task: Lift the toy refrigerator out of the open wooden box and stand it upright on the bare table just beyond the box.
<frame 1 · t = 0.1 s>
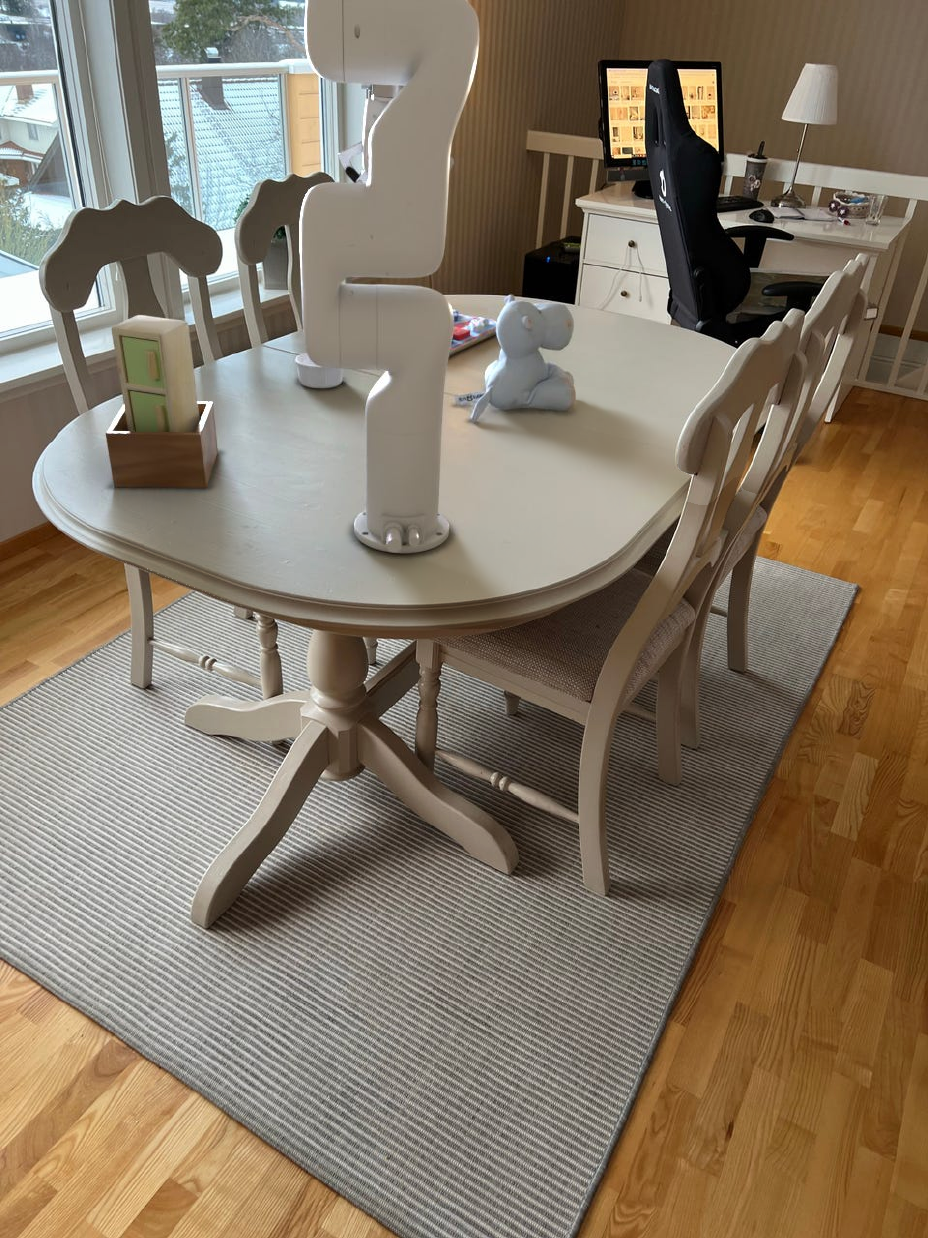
hand: (395, 215, 145), 31 cm above the table, tool pointing down, fingers open, 9 cm apart
ramekin: (320, 382, 172), on the table
toy refrigerator: (168, 470, 137), resting in open wooden box
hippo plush: (517, 406, 167), on the table
puzzle board: (425, 336, 199), on the table
open wooden box: (168, 468, 137), on the table
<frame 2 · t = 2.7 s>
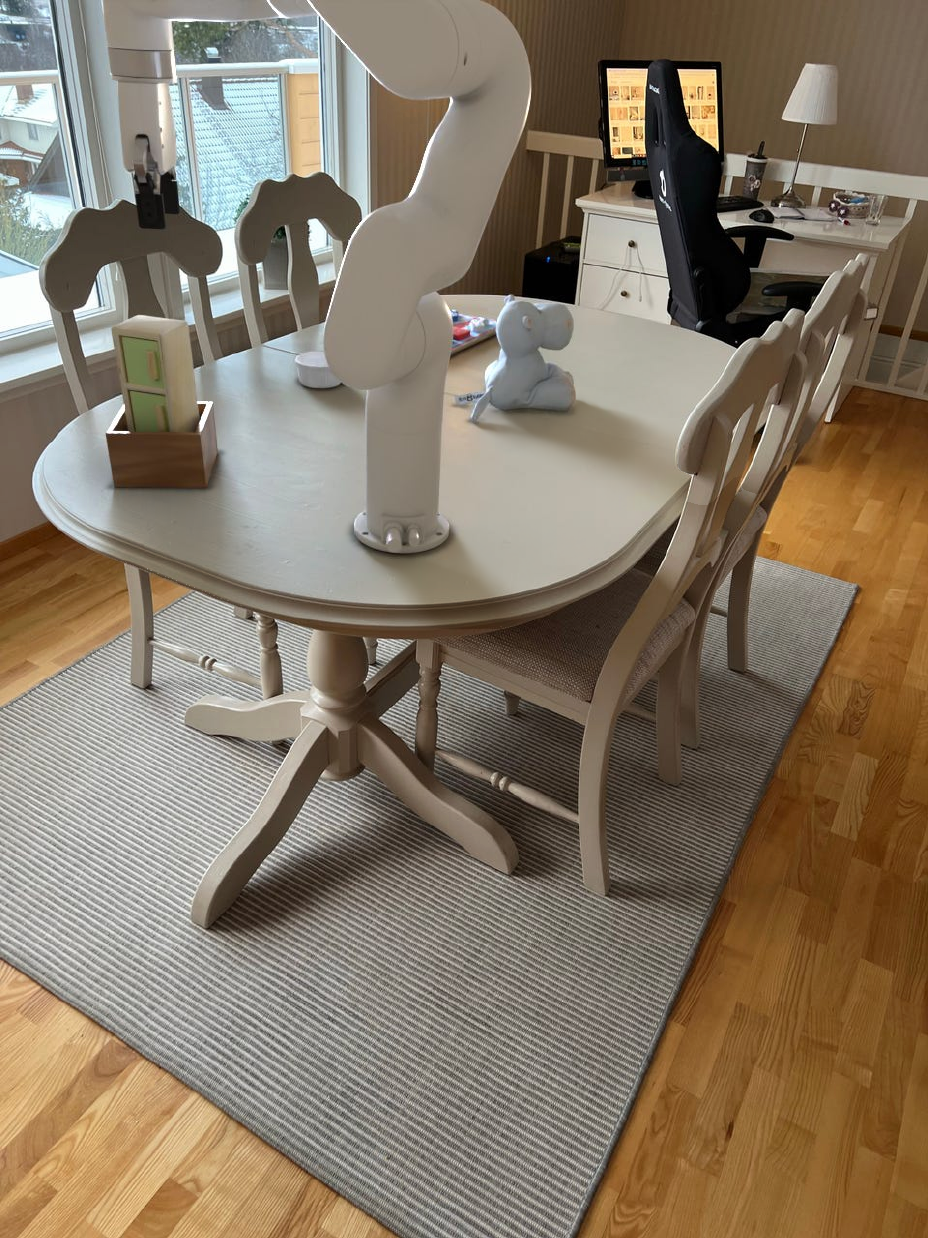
hand: (160, 220, 121), 34 cm above the table, tool pointing down, fingers open, 9 cm apart
nothing on the table moved.
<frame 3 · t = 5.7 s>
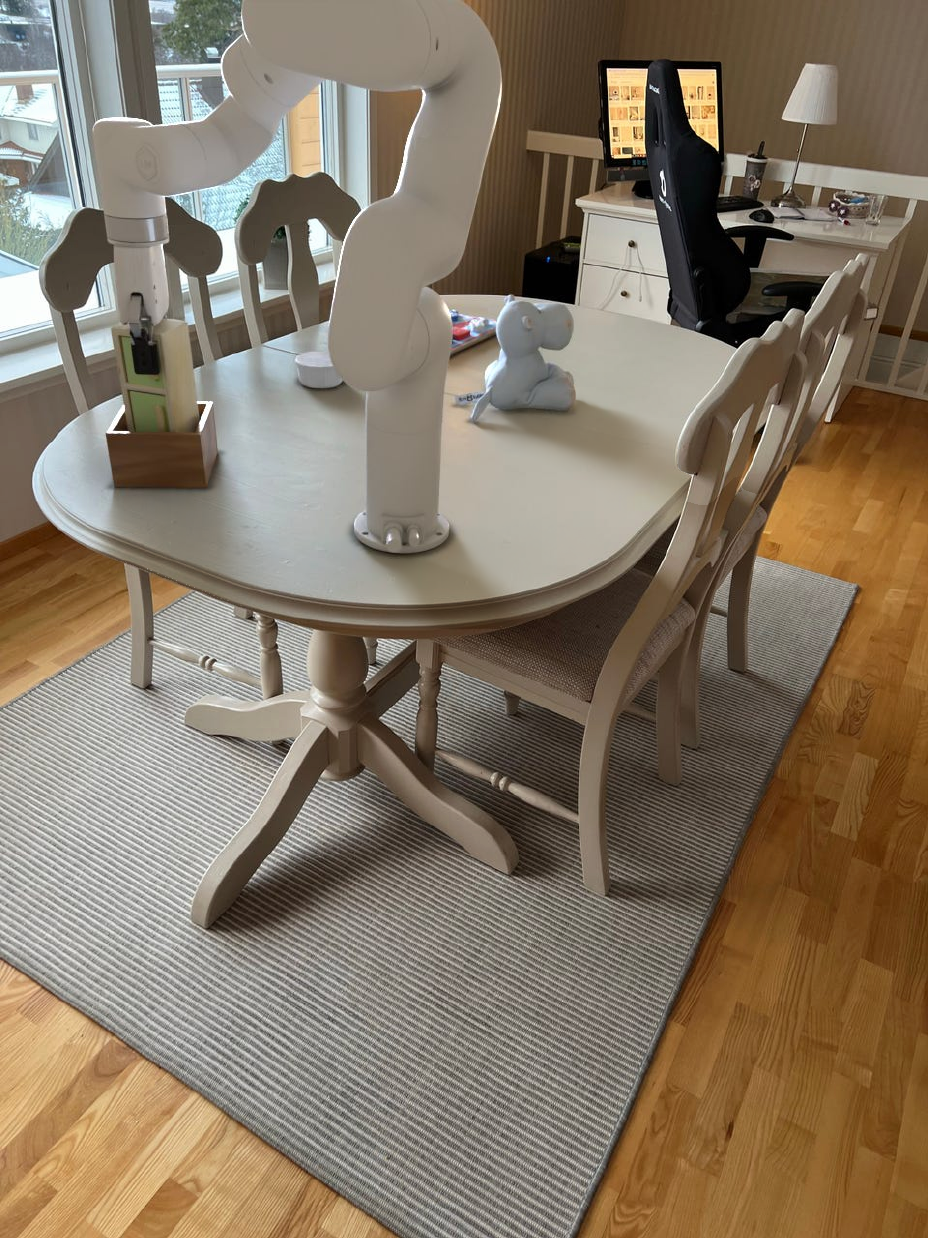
hand: (154, 362, 128), 16 cm above the table, tool pointing down, fingers closed on toy refrigerator, 8 cm apart
toy refrigerator: (168, 470, 137), resting in open wooden box, touching gripper
everything else where it was.
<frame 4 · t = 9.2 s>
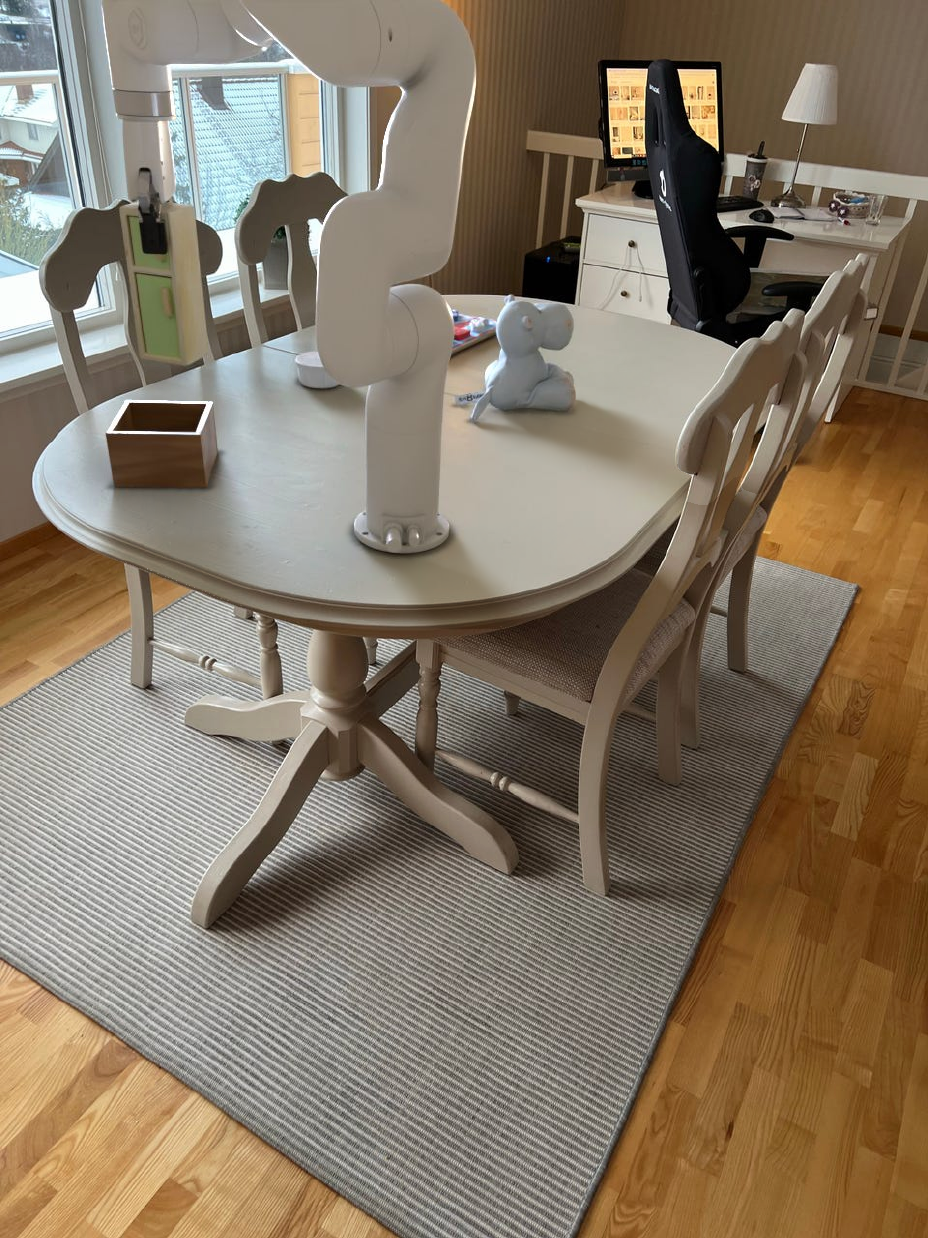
hand: (161, 245, 131), 29 cm above the table, tool pointing down, fingers closed on toy refrigerator, 8 cm apart
toy refrigerator: (172, 359, 140), point 13 cm above the table, touching gripper
everything else where it was.
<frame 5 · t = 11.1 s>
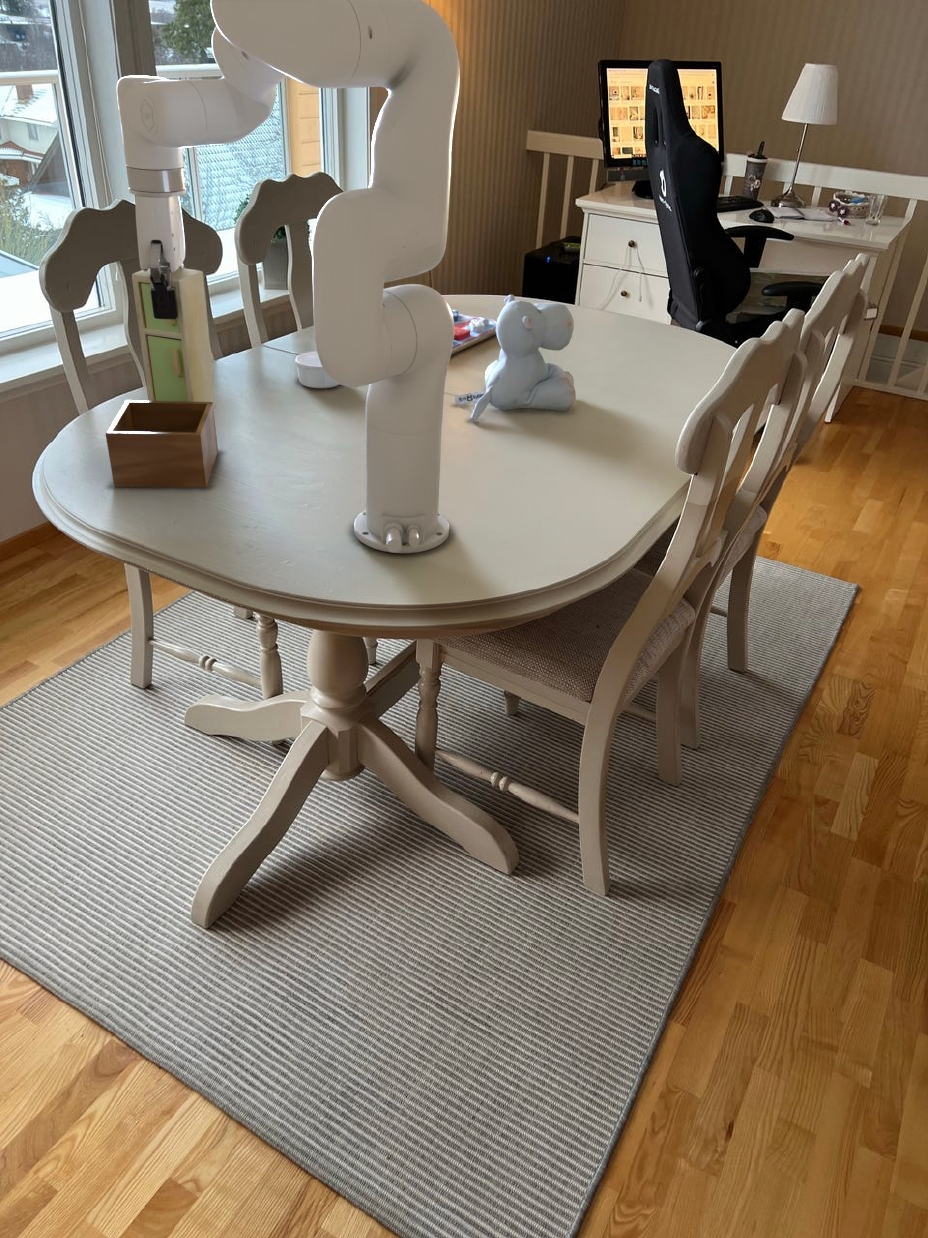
hand: (171, 309, 137), 19 cm above the table, tool pointing down, fingers closed on toy refrigerator, 8 cm apart
toy refrigerator: (181, 413, 146), point 3 cm above the table, touching gripper
everything else where it was.
when the fingers open (16 cm above the table, at t = 12.7 s): toy refrigerator stays where it is, on the table.
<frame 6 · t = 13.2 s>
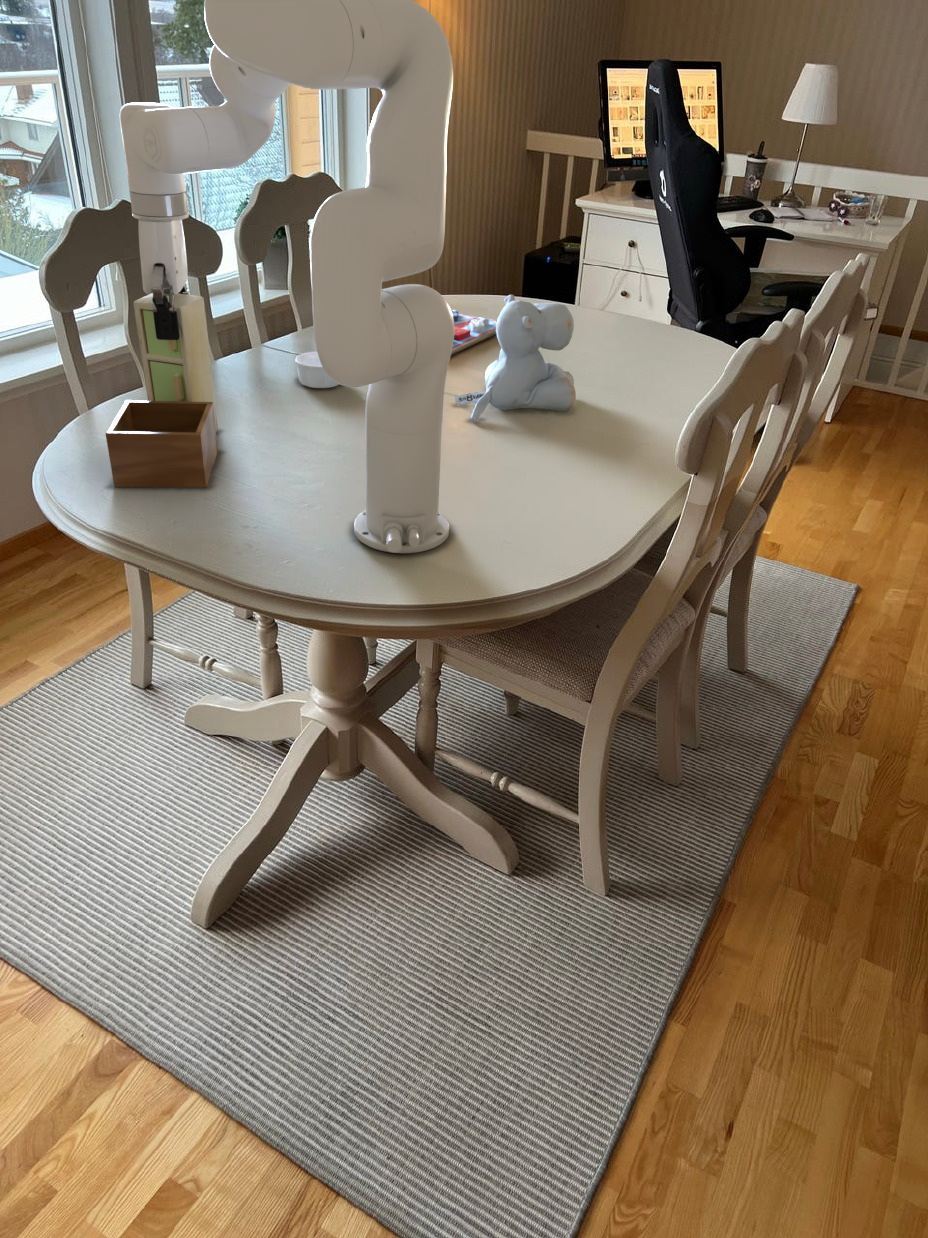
hand: (174, 329, 139), 17 cm above the table, tool pointing down, fingers open, 9 cm apart
toy refrigerator: (184, 436, 148), on the table
everything else where it was.
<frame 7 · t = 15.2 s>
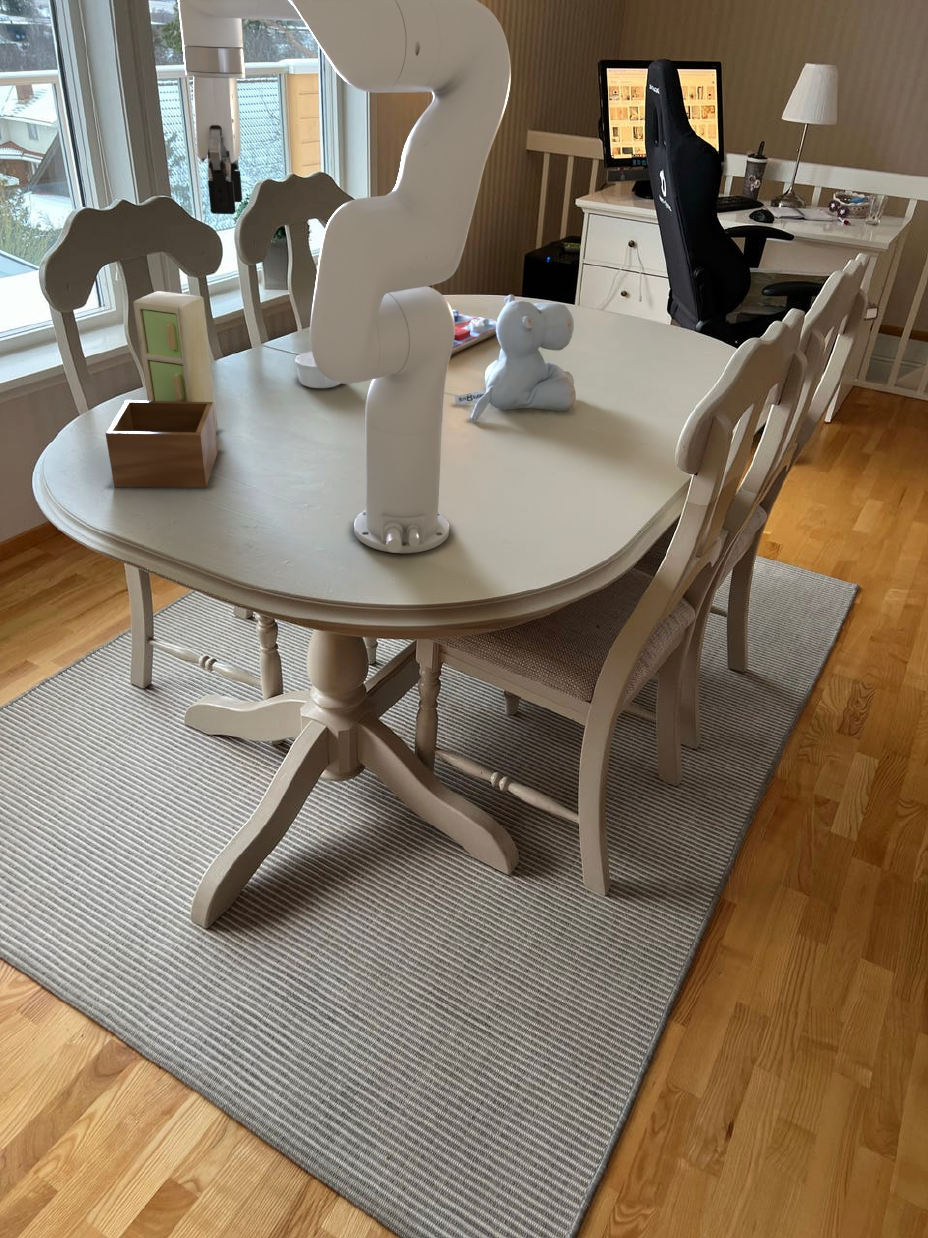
hand: (227, 207, 129), 34 cm above the table, tool pointing down, fingers open, 9 cm apart
nothing on the table moved.
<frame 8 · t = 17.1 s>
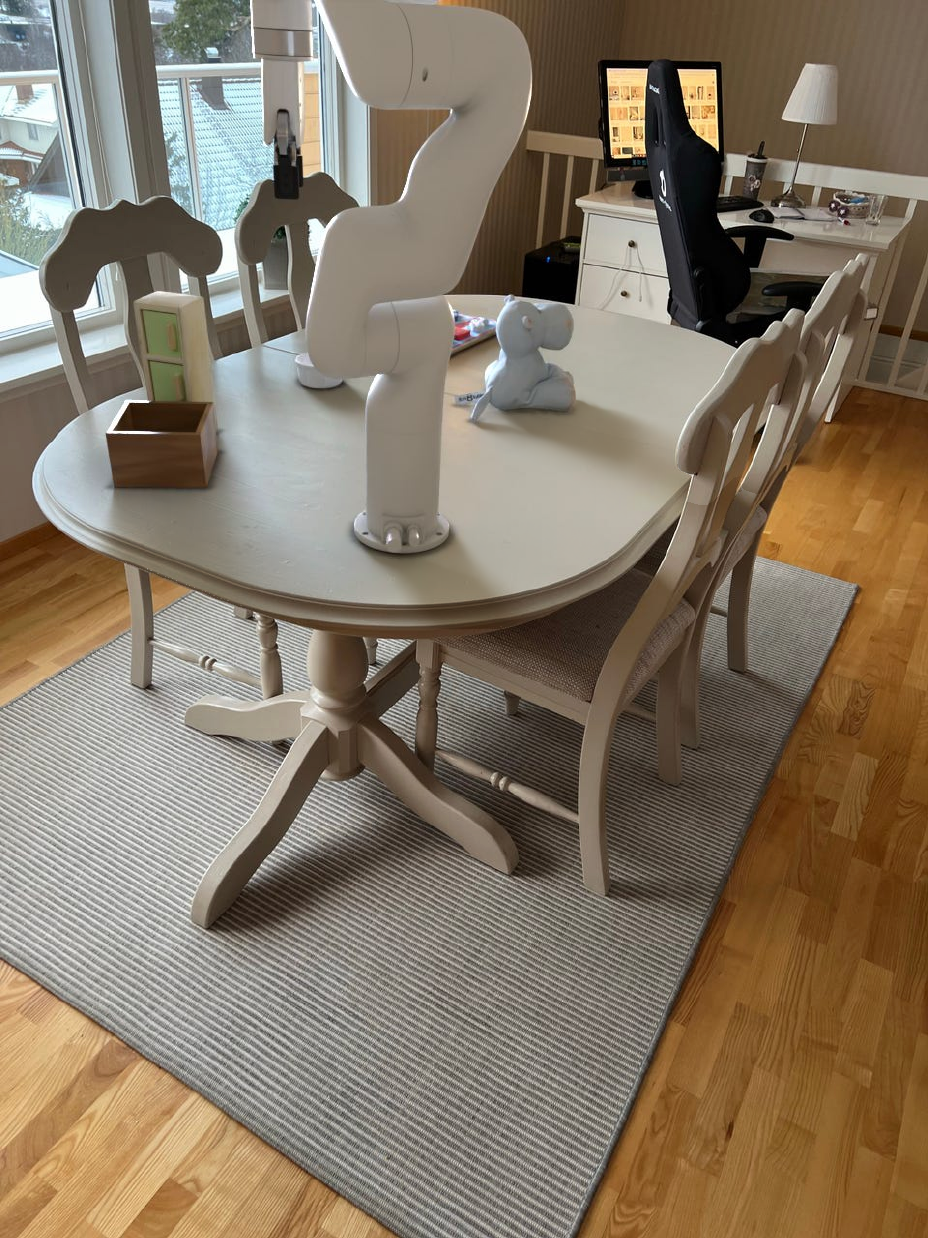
hand: (289, 192, 128), 36 cm above the table, tool pointing down, fingers open, 9 cm apart
nothing on the table moved.
at the end: toy refrigerator inside the target area (0.7 cm from its centre), on the table; toy refrigerator tilted 0°; toy refrigerator touching table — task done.
